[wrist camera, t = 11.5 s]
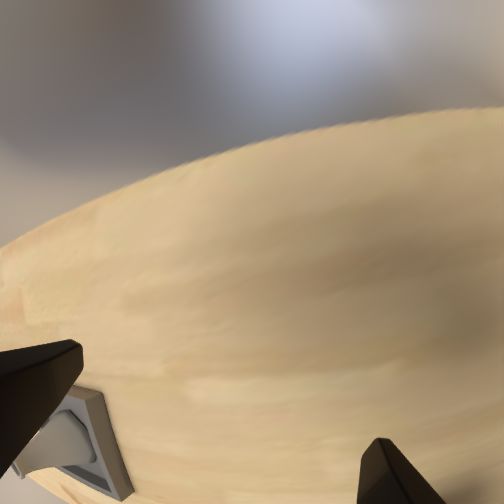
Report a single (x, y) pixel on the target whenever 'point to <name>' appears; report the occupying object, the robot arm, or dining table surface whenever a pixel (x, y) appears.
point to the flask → (56, 446)
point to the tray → (96, 445)
